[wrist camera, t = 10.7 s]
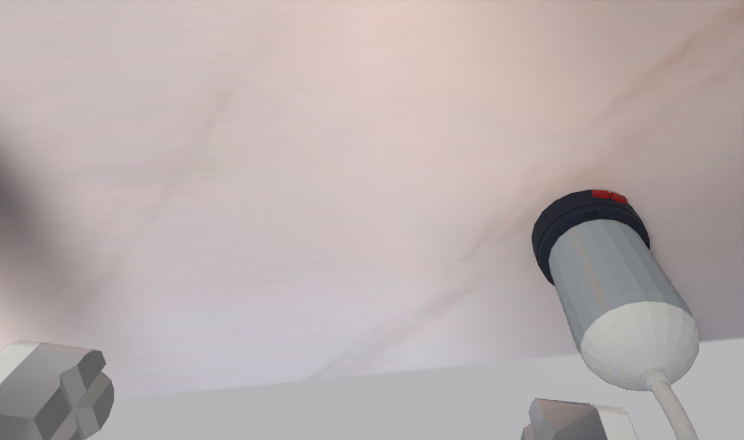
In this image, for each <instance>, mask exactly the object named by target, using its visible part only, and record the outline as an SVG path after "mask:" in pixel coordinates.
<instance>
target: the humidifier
mask: <svg viewBox="0 0 744 440" xmlns="http://www.w3.org/2000/svg"><path fill="white" fill-rule="evenodd" d="M532 244H533V250H534V254H535V257H536V260H537V263H538V266H539V267H540V269H541V271H542V272H543V274H544V275H545V277H546V278H547V280H548V281H549V282H550V283H551V284H553V285H554V286H555V287H556V289H557V292H558V295H559V298H560V301H561V304H562V306H563V309H564V312H565V315H566V318H567V321H568V324H569V326H570V329H571V332H572V335H573V338H574V341H575V344H576V346H577V349H578V351H579V352H580V354H581V356H582V359H583V360H584V362H585V363H586V365H587V367H588V368H589V369H590V370H591V371H592V372H593V373H595V374H596V375H597V376H599V377H600V378H601V379H603V380H604V381H605V382H607V383H609V384H612V385H615V386H618V387H621V388H623V389H626V390H635V391H651V392H653V394H654V395H655V397H656V398H657V400H658V402H659V403H660V405H661V407H662V409H663V411H664V412H665V414H666V416H667V418H668V420H669V422H670V424H671V426H672V428H673V430H674V433H675V435H676V438H677V440H698V437H697V436H696V433H695V431H694V428H693V426H692V424H691V422H690V420H689V418H688V416H687V414H686V412H685V410H684V408H683V407H682V405H681V404H680V402H679V400H678V399H677V397H676V395H675V394H674V392H673V391H672V389H671V388H670V386H671V384H672V383H674V382H676V381H677V380H679V379H680V378H681V377H682V376H683V375H685V374H686V373H687V372H688V371H689V370H690V368H691V366H692V364H693V362H694V360H695V358H696V356H697V354H698V352H699V329H698V327H697V324H696V322H695V320H694V318H693V316H692V314H691V312H690V310H689V308H688V307H687V305H686V304H685V302H684V301H683V299H682V298H681V296H680V295H679V293H678V292H677V290H676V289H675V288H674V286H673V285H672V283H671V282H670V280H669V279H668V277H667V276H666V274H665V273H664V271H663V270H662V268H661V267H660V265H659V264H658V262H657V261H656V260H655V258H654V257H653V255H652V254H651V252H650V239H649V237H648V233H647V231H646V229H645V227H644V225H643V223H642V220H641V219H640V218H639V216H638V215H637V214H636V212H635V211H634V209H633V208H632V207H631V206H630V205H629V204H628V203H627V199H626V198H625V197H624V196H621V195H619V194H616V193H614V192H611V193H609V192H608V191H604V190H585V191H580V192H575V193H571V194H568V195H566V196H564V197H562V198H560V199H558V200H556V201H554V202H553V203H552V204H551V205H550V206H549V207H547V208H546V209H545V210H544V211H543V212H542V213H541V215H540V217H539V218H538V220H537V221H536V223H535V225H534V229H533V233H532Z"/></svg>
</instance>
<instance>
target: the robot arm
mask: <svg viewBox="0 0 744 440" xmlns="http://www.w3.org/2000/svg"><path fill="white" fill-rule="evenodd" d="M105 365H106V362H105V360H104V357H103V354H102V352H101V351H98V350H93V349H86V348H78V347H71V346H64V345H57V344H50V343H41V342H33V341H25V340H20V341H17V342H15V343H13V344H11V345H9V346H8V347H7V348H6V349H5V350H4V351H3V352H2V353H1V354H0V440H85V439H87V438H88V437H90V436H92V435H93V434H95V433H96V432H98V431H99V430H100V429H101V428H102V426H103V425H104V423H105V422H106V420H107V418H108V417H109V414H110V411H111V408H112V405H113V402H114V388H113V384H112V381H111V379H109V378H108V377H107V376H106V375H105V374H104V373H103V372H102V371H101V370H102V369H103V367H104V366H105ZM529 415H530V420H531V424H529V425H528V426H526V427H525V428H524V429H523V433H522V437H521V440H638V438H637V436H636V433H635V431H634V429H633V426H632V424H631V421H630V419H629V417H628V414H627V412H626V411H625V410H624V409H623V408H620V407H611V406H602V405H591V404H587V403H577V402H567V401H557V400H547V399H536V398H535V400H534V401H533V402H532V404H531V407H530V410H529Z"/></svg>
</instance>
